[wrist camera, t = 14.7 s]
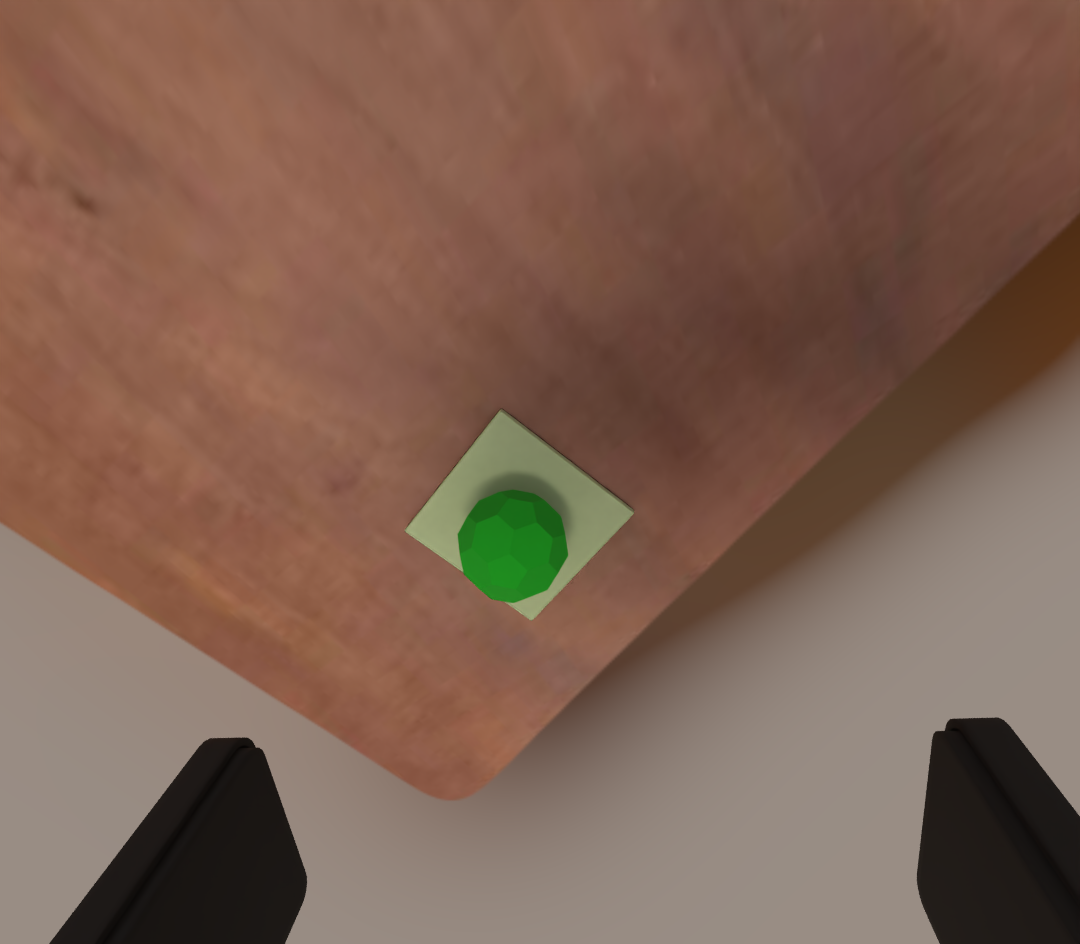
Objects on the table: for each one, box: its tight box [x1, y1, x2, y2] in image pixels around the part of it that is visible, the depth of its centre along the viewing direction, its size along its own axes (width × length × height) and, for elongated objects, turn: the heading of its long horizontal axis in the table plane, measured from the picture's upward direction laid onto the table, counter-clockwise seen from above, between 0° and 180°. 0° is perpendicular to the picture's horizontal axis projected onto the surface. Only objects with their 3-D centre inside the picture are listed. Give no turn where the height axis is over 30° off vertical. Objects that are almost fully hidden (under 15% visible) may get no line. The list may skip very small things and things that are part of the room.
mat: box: [405, 409, 634, 621], centre depth 32 cm, size 8×8×1 cm
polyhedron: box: [457, 489, 568, 603], centre depth 30 cm, size 5×5×5 cm
